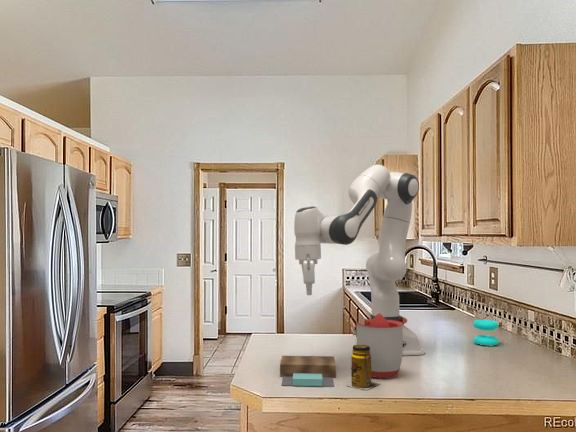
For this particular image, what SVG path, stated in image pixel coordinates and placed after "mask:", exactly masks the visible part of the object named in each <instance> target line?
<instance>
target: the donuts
mask: <svg viewBox="0 0 576 432" xmlns="http://www.w3.org/2000/svg"><path fill="white" fill-rule="evenodd" d="M472 323H473V324H472V325H473V327H474V328H475V329H477V330H480V331H491V332H492V331H496V329H498V328H499V323H498V322H497V321H496V320H492V319H491V320H490V319H476V320H474V321H473V322H472ZM473 343H474V344H475V343H477V344H482V345H497V344H498V345H499V339H498V338H497V337H495V336H492V335H488V334H480V335H479V334H478V335H475V337H474V338H473ZM477 344H476V345H477ZM498 345H497V346H498Z"/></svg>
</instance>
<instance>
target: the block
mask: <svg viewBox="0 0 576 432" xmlns="http://www.w3.org/2000/svg"><path fill="white" fill-rule="evenodd" d="M293 385H296V386H295V387H316V386H322V374H303V373H293Z"/></svg>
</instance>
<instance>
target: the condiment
mask: <svg viewBox="0 0 576 432" xmlns="http://www.w3.org/2000/svg"><path fill="white" fill-rule="evenodd" d="M350 358H351V370H350V371H351V372H350V373H351V375H350V376H351V383H349V384H345V386H347V387H350V388H354V389H360V390H365V391H368V390H370V389H373V388H374V387H376V386H378V385H380V384H381V383H380V382H373V381H372V377H371V355H370V347H369V346H367V345H357V344H354V345H353V346H352V354H351V357H350Z"/></svg>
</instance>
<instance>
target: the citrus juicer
mask: <svg viewBox="0 0 576 432" xmlns="http://www.w3.org/2000/svg"><path fill="white" fill-rule="evenodd" d="M352 336H355V337H356V345H367V346H369V347H370V355H371V378H379V379H382V380H386V379H389V378H394V377H397V376H398V374H399V372H400V369H401V365H402V359H403V355H402V353H403V323H402V322H399V321H394V320H386V319H385V318H384V317H383V316H382V315H381V314H380V313H379V314H377V315H376V316H375V317H374V318H373V319H370V318H367V319H364V324H361V323H360V322H358V321H355V330H354V331H353V332H352Z"/></svg>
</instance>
